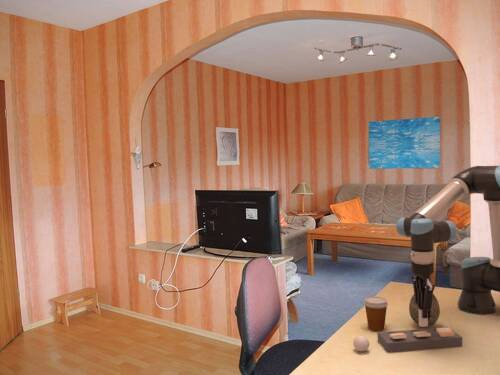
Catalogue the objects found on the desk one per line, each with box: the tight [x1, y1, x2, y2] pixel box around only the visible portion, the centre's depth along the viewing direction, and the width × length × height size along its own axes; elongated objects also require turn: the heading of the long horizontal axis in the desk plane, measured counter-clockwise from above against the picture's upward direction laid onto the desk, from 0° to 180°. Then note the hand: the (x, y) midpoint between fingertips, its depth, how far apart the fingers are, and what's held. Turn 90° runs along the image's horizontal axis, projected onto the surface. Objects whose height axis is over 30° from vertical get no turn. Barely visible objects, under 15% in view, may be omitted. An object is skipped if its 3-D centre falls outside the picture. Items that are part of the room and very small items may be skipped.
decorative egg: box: [408, 293, 441, 328], centre depth 181 cm, size 12×12×15 cm
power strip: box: [376, 326, 463, 354], centre depth 164 cm, size 28×10×4 cm, turn 95°
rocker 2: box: [435, 326, 455, 337], centre depth 163 cm, size 5×4×1 cm
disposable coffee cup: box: [363, 295, 389, 332], centre depth 180 cm, size 10×10×12 cm
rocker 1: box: [389, 333, 407, 339], centre depth 161 cm, size 5×4×1 cm
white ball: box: [353, 335, 370, 353], centre depth 162 cm, size 8×6×6 cm
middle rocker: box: [413, 331, 431, 337], centre depth 162 cm, size 5×4×1 cm
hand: (423, 325), depth 160 cm, fingers closed
